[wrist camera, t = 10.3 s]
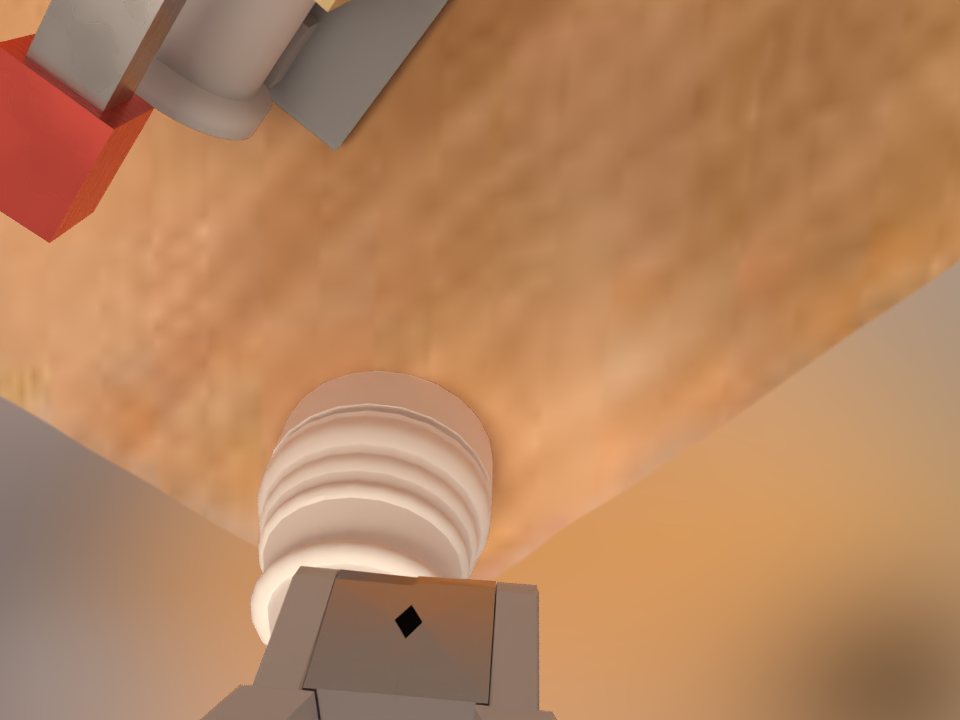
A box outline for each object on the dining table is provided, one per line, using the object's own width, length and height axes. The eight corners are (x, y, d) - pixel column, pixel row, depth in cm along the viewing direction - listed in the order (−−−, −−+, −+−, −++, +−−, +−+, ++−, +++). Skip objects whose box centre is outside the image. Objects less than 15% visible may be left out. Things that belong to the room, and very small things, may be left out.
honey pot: (465, 551, 47) (445, 853, 32) (272, 512, 46) (155, 807, 31) (517, 398, 41) (524, 687, 25) (294, 347, 39) (159, 620, 24)
